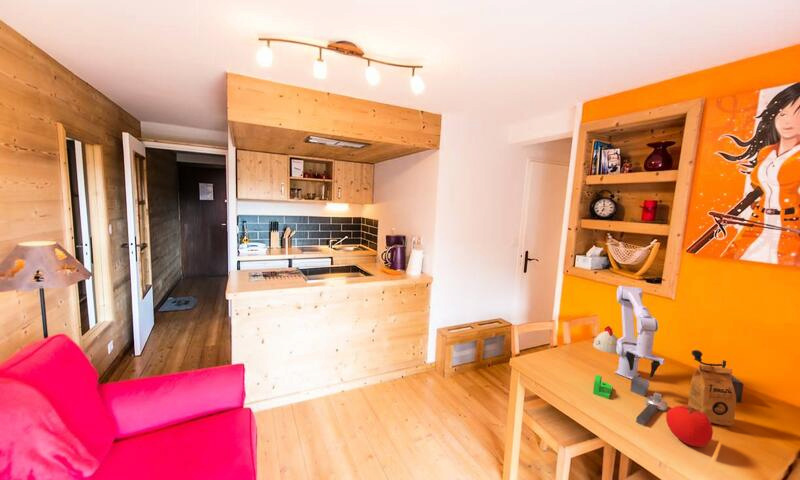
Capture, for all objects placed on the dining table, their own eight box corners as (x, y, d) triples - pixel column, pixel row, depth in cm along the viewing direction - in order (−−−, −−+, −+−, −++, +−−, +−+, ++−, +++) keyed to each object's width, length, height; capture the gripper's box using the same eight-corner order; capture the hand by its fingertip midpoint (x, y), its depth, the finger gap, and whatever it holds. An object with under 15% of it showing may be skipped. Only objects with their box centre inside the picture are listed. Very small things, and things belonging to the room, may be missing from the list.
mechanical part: (608, 399, 139) (610, 382, 138) (592, 394, 143) (594, 377, 142) (612, 388, 148) (614, 372, 148) (597, 383, 152) (599, 367, 151)
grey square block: (634, 387, 150) (635, 375, 149) (647, 393, 146) (649, 380, 145) (630, 391, 146) (631, 378, 146) (644, 396, 142) (645, 383, 142)
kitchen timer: (598, 354, 185) (601, 329, 183) (588, 344, 198) (591, 321, 197) (625, 357, 183) (628, 332, 181) (613, 347, 196) (616, 323, 195)
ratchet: (648, 399, 140) (650, 387, 140) (668, 407, 135) (670, 395, 134) (629, 419, 126) (630, 405, 125) (651, 429, 120) (653, 415, 120)
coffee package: (737, 431, 122) (746, 375, 120) (697, 423, 125) (704, 369, 123) (720, 415, 131) (728, 363, 129) (683, 408, 135) (690, 358, 133)
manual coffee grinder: (726, 391, 150) (732, 354, 149) (741, 404, 140) (747, 364, 138) (685, 383, 156) (690, 347, 154) (697, 395, 145) (702, 357, 144)
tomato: (714, 445, 113) (719, 411, 112) (705, 459, 106) (710, 423, 105) (670, 425, 123) (674, 394, 122) (659, 436, 116) (663, 403, 115)
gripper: (622, 340, 147) (619, 368, 148) (662, 352, 136) (658, 382, 137) (628, 337, 151) (625, 364, 153) (667, 348, 140) (663, 378, 141)
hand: (641, 373), depth 145 cm, fingers open, 7 cm apart
